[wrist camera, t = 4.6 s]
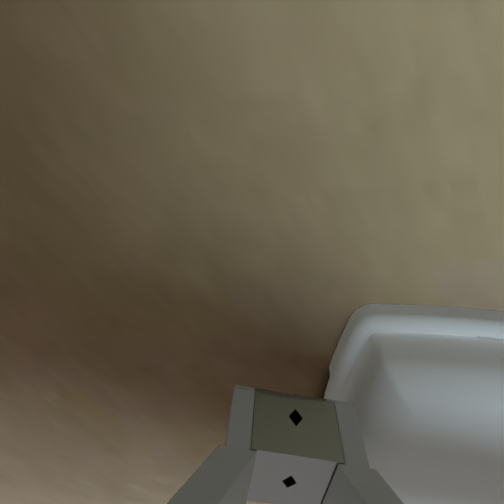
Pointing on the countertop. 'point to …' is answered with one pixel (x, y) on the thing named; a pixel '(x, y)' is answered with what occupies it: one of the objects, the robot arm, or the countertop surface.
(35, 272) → the countertop surface
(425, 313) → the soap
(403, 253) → the countertop surface
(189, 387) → the countertop surface
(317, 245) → the countertop surface
